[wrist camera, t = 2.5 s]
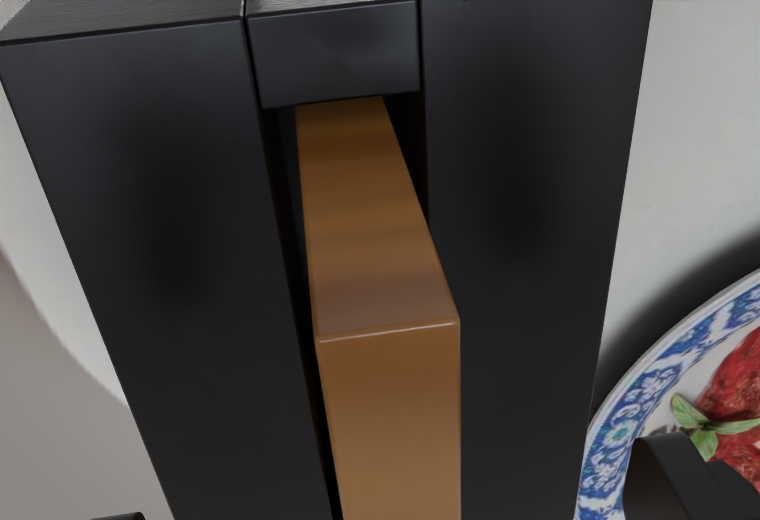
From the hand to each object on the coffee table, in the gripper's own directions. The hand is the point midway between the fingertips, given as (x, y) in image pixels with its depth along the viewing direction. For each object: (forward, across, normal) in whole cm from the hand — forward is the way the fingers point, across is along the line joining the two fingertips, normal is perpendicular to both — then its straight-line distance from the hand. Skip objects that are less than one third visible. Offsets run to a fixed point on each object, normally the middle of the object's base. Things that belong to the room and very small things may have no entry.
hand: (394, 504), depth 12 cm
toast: (+9, 0, 0) cm, 9 cm away
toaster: (+15, 0, 0) cm, 15 cm away
